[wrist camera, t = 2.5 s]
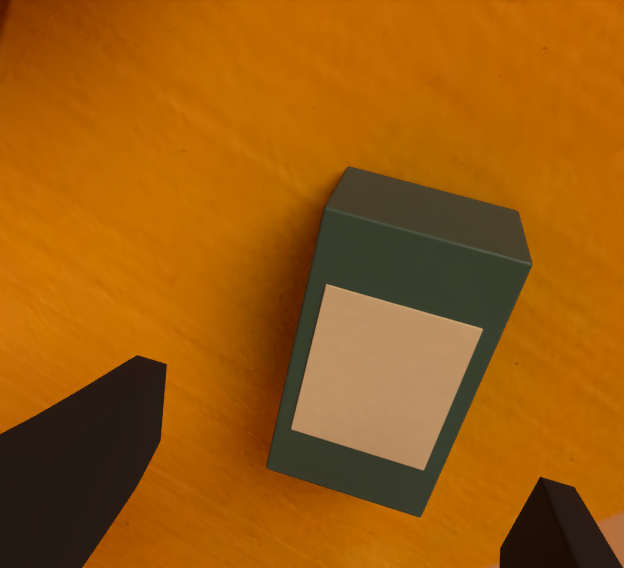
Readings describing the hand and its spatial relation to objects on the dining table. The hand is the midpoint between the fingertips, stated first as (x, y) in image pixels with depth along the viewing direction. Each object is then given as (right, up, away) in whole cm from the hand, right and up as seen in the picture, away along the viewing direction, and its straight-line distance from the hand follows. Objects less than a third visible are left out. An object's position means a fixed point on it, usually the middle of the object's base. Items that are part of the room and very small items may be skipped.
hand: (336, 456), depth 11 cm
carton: (+2, +2, +8) cm, 8 cm away
